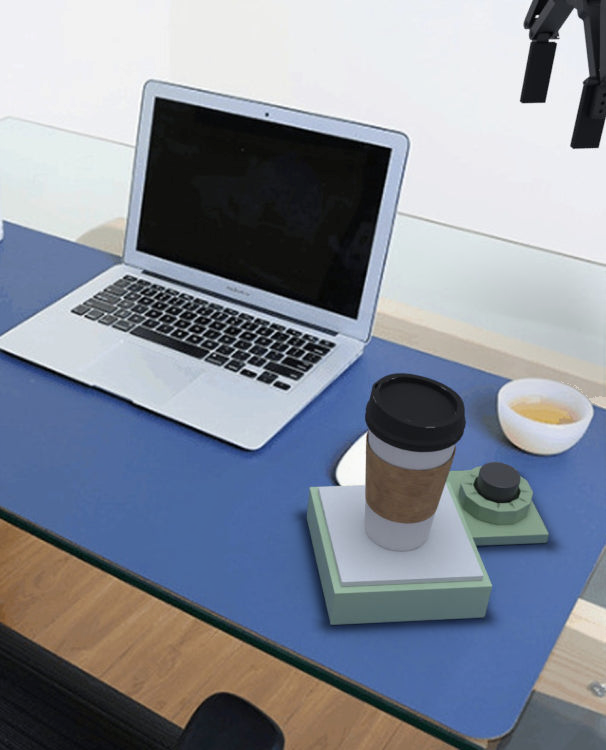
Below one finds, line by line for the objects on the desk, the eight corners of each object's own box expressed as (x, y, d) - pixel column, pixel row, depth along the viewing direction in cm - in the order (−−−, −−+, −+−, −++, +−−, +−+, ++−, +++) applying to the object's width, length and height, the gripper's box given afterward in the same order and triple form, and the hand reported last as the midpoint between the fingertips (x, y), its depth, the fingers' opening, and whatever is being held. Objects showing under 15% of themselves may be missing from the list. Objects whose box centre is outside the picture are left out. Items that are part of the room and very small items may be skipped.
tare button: (509, 476, 102) (513, 460, 101) (522, 502, 99) (526, 487, 98) (471, 478, 102) (474, 462, 100) (482, 504, 98) (486, 488, 97)
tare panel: (513, 477, 106) (519, 454, 104) (546, 543, 98) (553, 520, 96) (440, 479, 105) (444, 457, 104) (467, 546, 97) (472, 523, 95)
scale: (443, 512, 101) (450, 477, 99) (484, 617, 90) (494, 581, 87) (306, 517, 100) (309, 482, 97) (330, 625, 88) (335, 588, 86)
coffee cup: (364, 489, 97) (382, 359, 88) (451, 513, 94) (478, 382, 86) (338, 544, 90) (355, 410, 82) (430, 573, 88) (458, 437, 79)
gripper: (515, -117, 104) (482, 86, 116) (626, -71, 83) (572, 170, 95) (584, -117, 105) (544, 85, 117) (710, -71, 84) (646, 167, 96)
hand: (556, 123), depth 106 cm, fingers open, 13 cm apart
